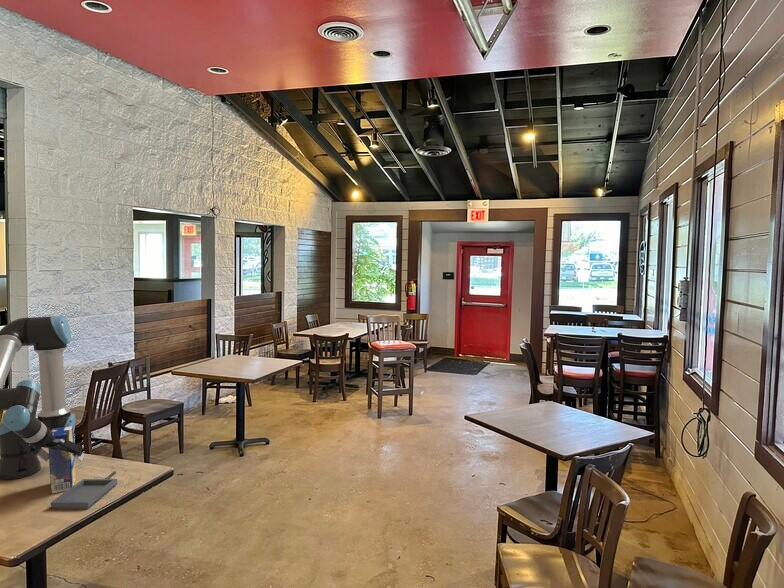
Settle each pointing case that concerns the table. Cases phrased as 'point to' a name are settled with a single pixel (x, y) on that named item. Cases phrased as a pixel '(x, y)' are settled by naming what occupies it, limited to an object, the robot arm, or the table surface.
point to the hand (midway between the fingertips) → (65, 458)
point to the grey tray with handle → (84, 493)
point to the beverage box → (62, 463)
